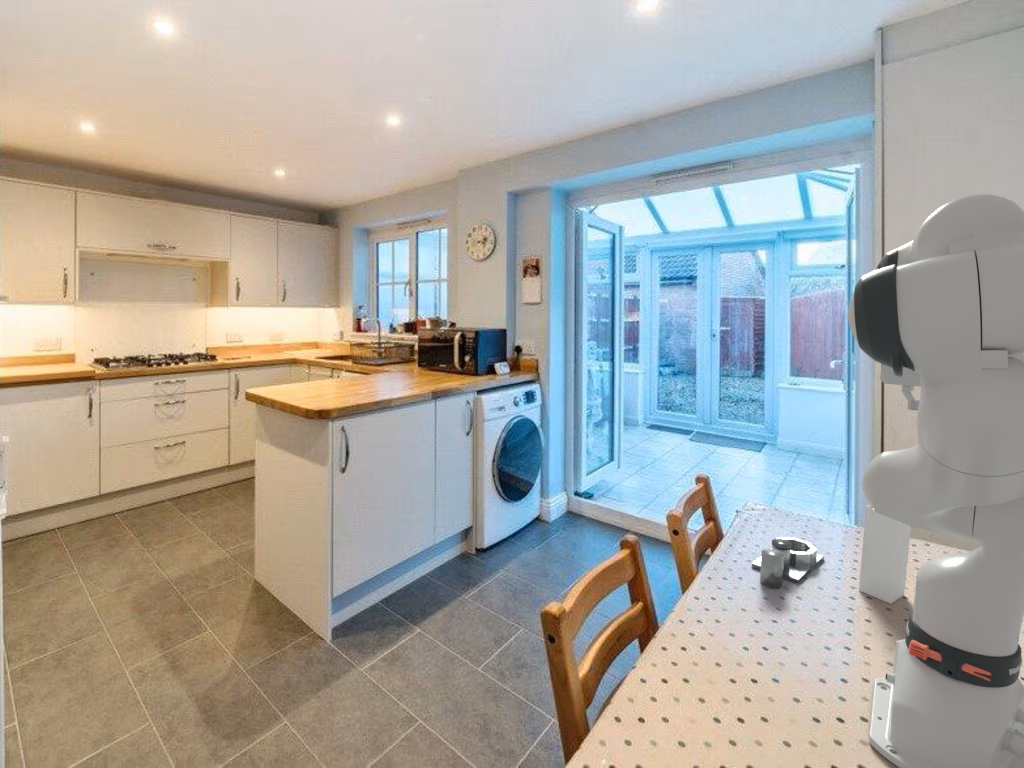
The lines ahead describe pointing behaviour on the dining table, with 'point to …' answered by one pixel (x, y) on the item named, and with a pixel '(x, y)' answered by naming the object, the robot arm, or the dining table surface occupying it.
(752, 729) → the dining table surface
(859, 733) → the dining table surface
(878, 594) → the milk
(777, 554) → the grey cylindrical peg
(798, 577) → the flange
